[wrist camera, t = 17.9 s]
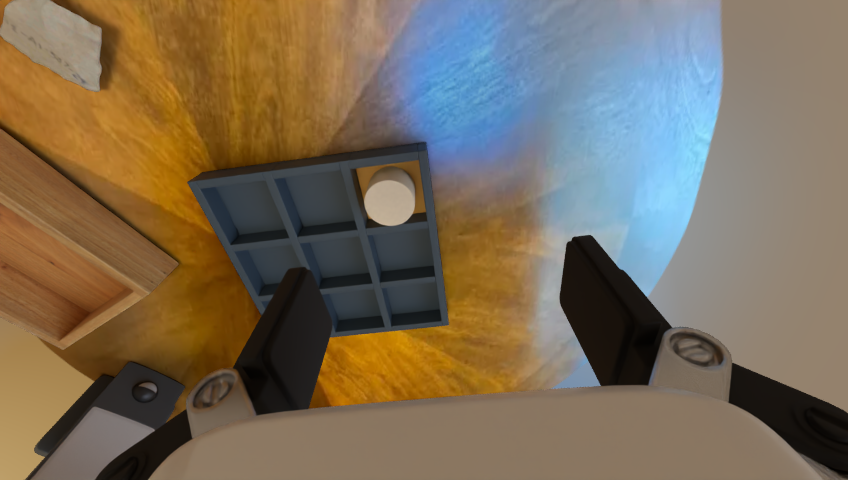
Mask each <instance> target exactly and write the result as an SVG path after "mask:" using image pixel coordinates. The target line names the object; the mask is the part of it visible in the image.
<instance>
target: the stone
mask: <svg viewBox="0 0 848 480" xmlns="http://www.w3.org/2000/svg"><path fill="white" fill-rule="evenodd" d="M0 35H1V36H2V37H3V39H4V40H5V41H6V42H9V43H11V44H12V45H14V46H15V48H16V49H18V50H19V51H20V52H22V53H23V54H25V55H27V56H28V57H29V58H30V59H31V60H32V61H33V62H35V63H38V64H41V65H44V66H46V67H48V68H50V69H51V70H52V71H53V72H55V73H57V74H59V75H60V76H62V77H63V78H64V79H66V80H69V81H71V82H74V83H76V84H78V85H80V86H82V87H83V88H85V89H87V90H90V91H94V92H99V91H100V85H99V78H100V75H101V73H102V72H101V71H102V66H101V63H100V50H101V45H102V37H101V36H102V30H101V28H100V27H99V26H96V25H93V24H91V23H89V22H88V21H86V20H85V19H83V18H82V17H81V16H79V15H77V14H74V13H72V12H71V11H69V10H67V9H65V8H63V7H61V6H59V5H57V4H55V3H54V2H52V1H51V0H13V1H11V2H10V3H9V4H8V5H7V6H6V7H5V9H4V17H3V24H2V25H1V28H0Z"/></svg>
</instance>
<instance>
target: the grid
mask: <svg viewBox="0 0 848 480" xmlns="http://www.w3.org/2000/svg"><path fill="white" fill-rule="evenodd" d="M384 167H398V168H401V169H403V170H405V171H406V172H407V173H408V174H409V175H410V176H411V177H412V179H413V181H414V184H415V208H414V211H413V213H412V215H411V217H410V218H409V219H408V220H407V221H405V222H404V223H402V224H399V225H395V226H386V225H382V224H379V223H377V222H376V221H374V220H373V219H372V218H371V217H370V216H369V215H368V213H367V211H366V209H365V206H364V198H365V194H366V191H367V188H368V185H369V182H370V179H371V177H372V176H373V174H374V173H375V172H376V171H378V170H379V169H381V168H384ZM187 183H188V184H189V186H190V188H191V190H192V192H193V193H194V195H195V197H196V199H197V201H198V202H199V204H200V206H201V208H202V210H203V211H204V213H205V215H206V217H207V219H208V220H209V222H210V224H211V226H212V227H213V229H214V231H215V233H216V235H217V236H218V238H219V240H220V242H221V244H222V245H223V247H224V249H225V251H226V253H227V254H228V256H229V258H230V260H231V262H232V263H233V265H234V267H235V269H236V271H237V272H238V274H239V276H240V278H241V279H242V281H243V283H244V285H245V287H246V288H247V290H248V292H249V294H250V296H251V297H252V299H253V301H254V303H255V305H256V306H257V308H258V310H259V312H260V314H261V315H262V314H263V313H264V311H265V309H266V307H267V306H268V304H269V302H270V300H271V298H272V297H273V295H274V293H275V291H276V289H277V288H278V286H279V284H280V282H281V281H282V279H283V277H284V275H285V273H286V272H287V270H288V269H290V268H297V267H306V268H307V270H311V271H312V273H313V275H314V277H315V280H316V282H317V285H318V287H319V289H320V292H321V294H322V297H323V299H324V302H325V304H326V307H327V309H328V311H329V314H330V316H331V319H332V323H333V327H332V331H331V335H330V337H339V336H349V335H358V334H368V333H378V332H388V331H398V330H407V329H417V328H427V327H436V326H445V325H449V322H448V313H447V304H446V296H445V288H444V280H443V272H442V264H441V256H440V248H439V241H438V233H437V225H436V217H435V209H434V201H433V193H432V185H431V177H430V169H429V161H428V153H427V145H426V142H423V143H416V144H408V145H401V146H394V147H386V148H379V149H371V150H364V151H357V152H349V153H342V154H334V155H327V156H320V157H312V158H305V159H297V160H290V161H283V162H275V163H268V164H260V165H253V166H246V167H238V168H231V169H223V170H216V171H209V172H202V173H201V174H199V175H198V176H196V177H194V178H193V179H191V180H190V181H188V182H187Z"/></svg>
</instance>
